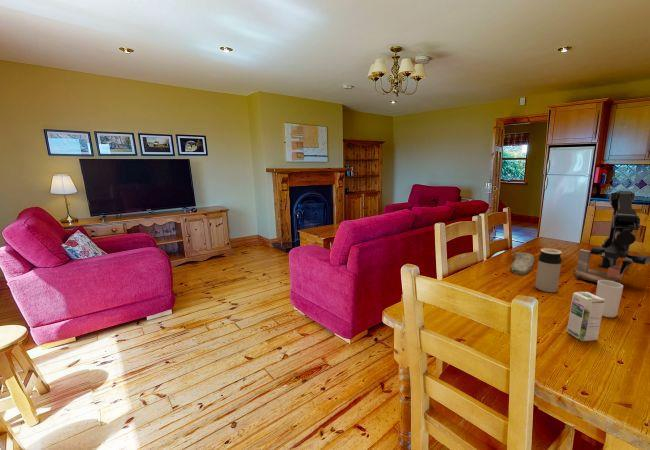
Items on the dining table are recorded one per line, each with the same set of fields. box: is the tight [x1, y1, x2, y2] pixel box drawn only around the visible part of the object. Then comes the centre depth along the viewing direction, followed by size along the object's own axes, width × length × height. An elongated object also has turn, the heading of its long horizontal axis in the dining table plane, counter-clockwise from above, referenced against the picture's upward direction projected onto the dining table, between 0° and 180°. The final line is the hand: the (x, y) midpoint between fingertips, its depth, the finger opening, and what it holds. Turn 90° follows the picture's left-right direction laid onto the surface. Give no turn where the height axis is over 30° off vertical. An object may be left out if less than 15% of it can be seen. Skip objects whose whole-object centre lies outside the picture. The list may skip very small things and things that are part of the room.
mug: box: [595, 280, 624, 318], centre depth 109 cm, size 10×7×12 cm, turn 131°
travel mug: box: [534, 247, 563, 293], centre depth 129 cm, size 8×8×18 cm
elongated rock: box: [510, 251, 536, 276], centre depth 161 cm, size 35×5×10 cm
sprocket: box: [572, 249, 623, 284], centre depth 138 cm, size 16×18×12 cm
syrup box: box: [566, 291, 605, 342], centre depth 94 cm, size 6×6×14 cm
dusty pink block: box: [607, 265, 625, 278], centre depth 134 cm, size 4×6×4 cm, turn 115°
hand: (615, 272), depth 134 cm, fingers closed on dusty pink block, 3 cm apart
